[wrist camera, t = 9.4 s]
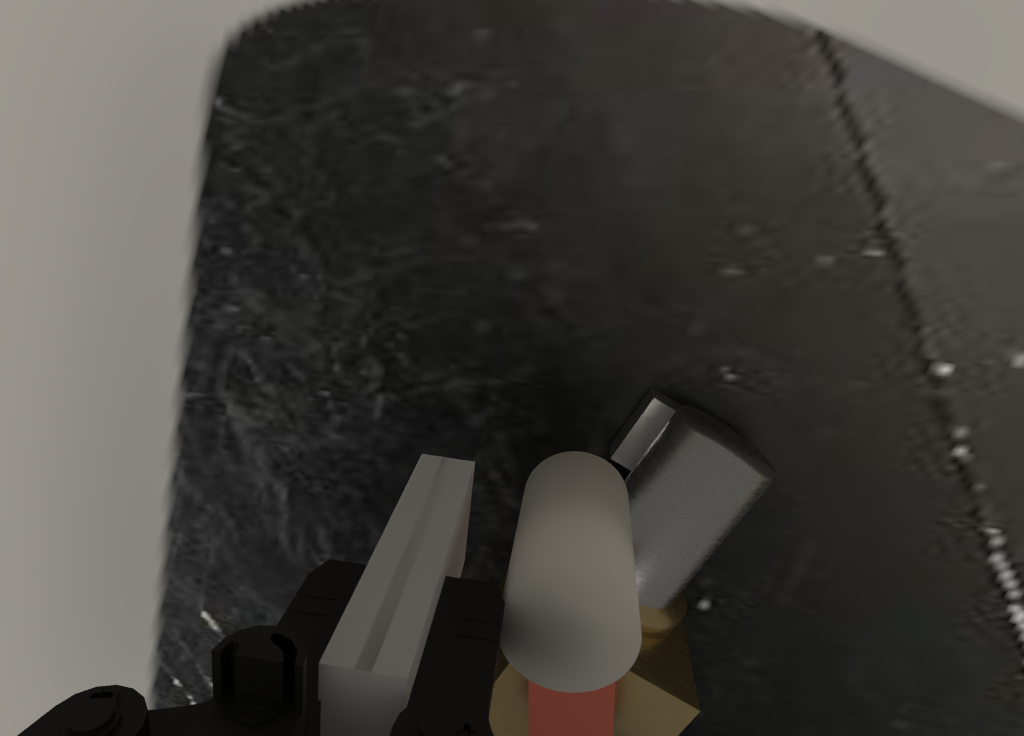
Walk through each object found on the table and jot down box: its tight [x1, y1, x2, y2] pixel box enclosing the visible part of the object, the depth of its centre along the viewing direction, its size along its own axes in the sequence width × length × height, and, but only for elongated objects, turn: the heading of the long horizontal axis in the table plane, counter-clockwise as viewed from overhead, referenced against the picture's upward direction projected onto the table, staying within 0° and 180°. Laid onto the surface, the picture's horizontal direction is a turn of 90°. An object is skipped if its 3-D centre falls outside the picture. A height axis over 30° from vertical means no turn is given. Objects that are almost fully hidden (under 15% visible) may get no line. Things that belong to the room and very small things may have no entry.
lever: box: [500, 451, 642, 736], centre depth 17 cm, size 13×4×6 cm, turn 1°
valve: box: [489, 387, 777, 736], centre depth 25 cm, size 20×6×9 cm, turn 150°
